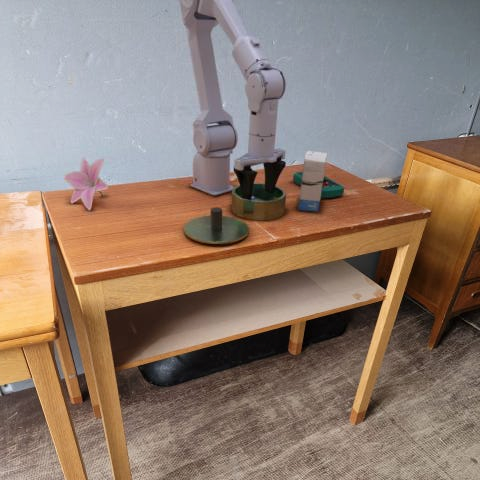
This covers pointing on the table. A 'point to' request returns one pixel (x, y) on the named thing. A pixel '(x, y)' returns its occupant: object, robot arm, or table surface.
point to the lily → (86, 182)
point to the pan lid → (216, 228)
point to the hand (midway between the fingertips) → (258, 195)
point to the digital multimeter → (328, 187)
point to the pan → (259, 203)
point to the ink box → (312, 181)
